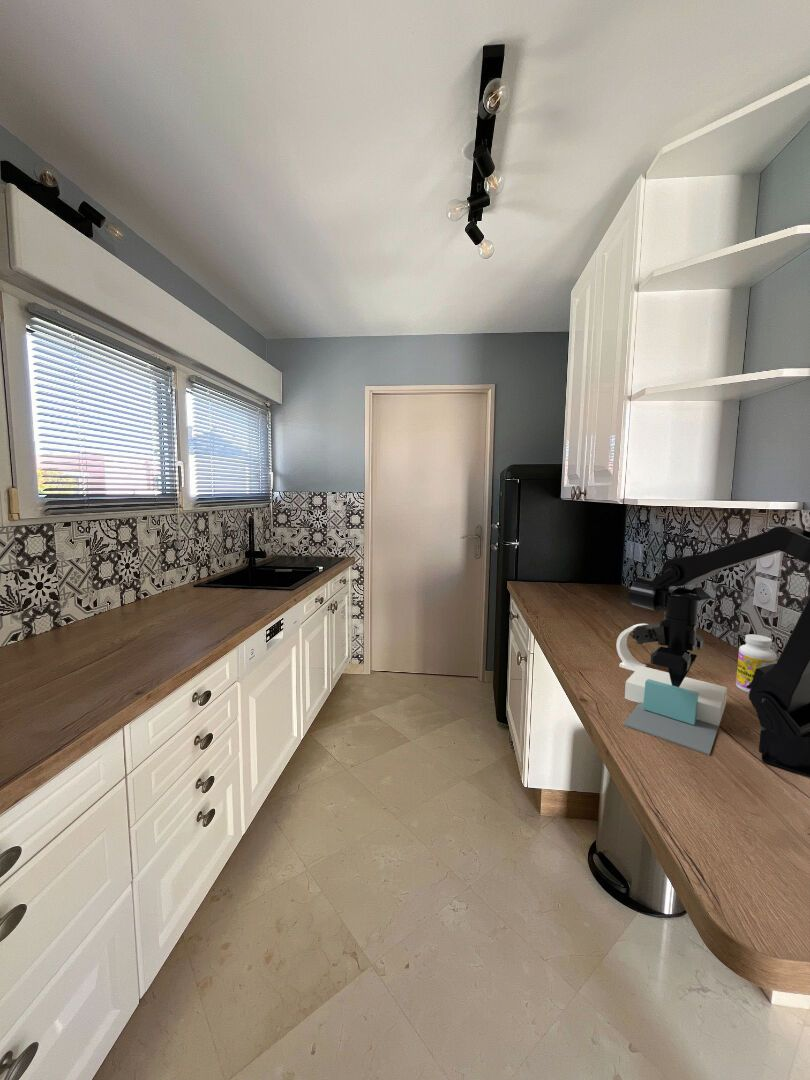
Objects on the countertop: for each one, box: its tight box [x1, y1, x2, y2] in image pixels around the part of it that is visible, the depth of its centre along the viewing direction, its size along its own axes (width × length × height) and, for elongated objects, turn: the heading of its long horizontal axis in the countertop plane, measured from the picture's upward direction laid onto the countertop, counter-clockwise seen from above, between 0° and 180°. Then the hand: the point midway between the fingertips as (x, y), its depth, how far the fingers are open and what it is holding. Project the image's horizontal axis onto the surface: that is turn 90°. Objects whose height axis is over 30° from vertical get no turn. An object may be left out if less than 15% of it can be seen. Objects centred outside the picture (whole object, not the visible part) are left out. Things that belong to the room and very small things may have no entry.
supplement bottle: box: [735, 633, 777, 694], centre depth 96 cm, size 7×7×13 cm
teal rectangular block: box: [643, 679, 699, 725], centre depth 85 cm, size 9×6×2 cm
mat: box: [622, 702, 720, 756], centre depth 81 cm, size 14×12×1 cm
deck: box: [624, 666, 728, 727], centre depth 91 cm, size 17×12×4 cm
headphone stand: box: [615, 623, 649, 672], centre depth 109 cm, size 5×6×12 cm
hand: (675, 687), depth 88 cm, fingers closed
